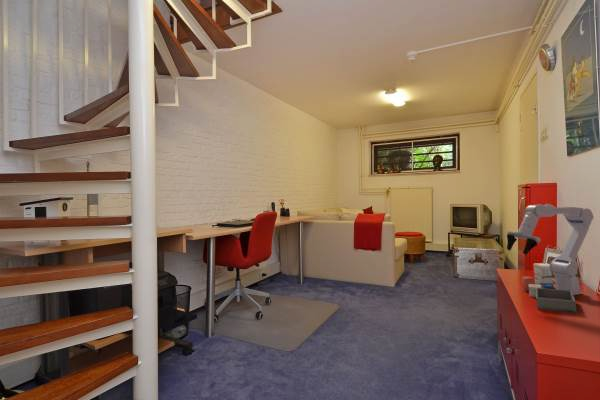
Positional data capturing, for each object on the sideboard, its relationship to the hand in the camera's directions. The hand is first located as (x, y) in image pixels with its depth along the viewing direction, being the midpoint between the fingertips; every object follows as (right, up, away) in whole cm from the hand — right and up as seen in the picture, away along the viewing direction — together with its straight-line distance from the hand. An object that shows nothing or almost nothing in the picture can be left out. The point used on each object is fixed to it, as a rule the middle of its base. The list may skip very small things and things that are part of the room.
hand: (516, 251), depth 153 cm
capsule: (+15, -23, +12) cm, 29 cm away
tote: (+10, -22, -11) cm, 27 cm away
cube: (+12, -23, +4) cm, 26 cm away
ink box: (+28, -22, +18) cm, 39 cm away
